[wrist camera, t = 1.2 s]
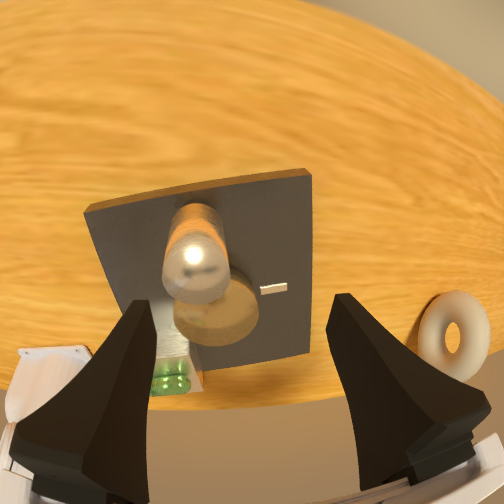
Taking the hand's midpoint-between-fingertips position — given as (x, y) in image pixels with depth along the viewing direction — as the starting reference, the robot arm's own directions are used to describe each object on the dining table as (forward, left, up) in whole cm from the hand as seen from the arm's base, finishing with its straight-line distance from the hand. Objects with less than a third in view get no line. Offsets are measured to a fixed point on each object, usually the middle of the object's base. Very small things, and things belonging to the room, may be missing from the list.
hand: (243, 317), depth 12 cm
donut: (+21, -15, -11) cm, 28 cm away
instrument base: (-2, -6, -11) cm, 13 cm away
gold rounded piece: (-2, -4, -9) cm, 10 cm away
